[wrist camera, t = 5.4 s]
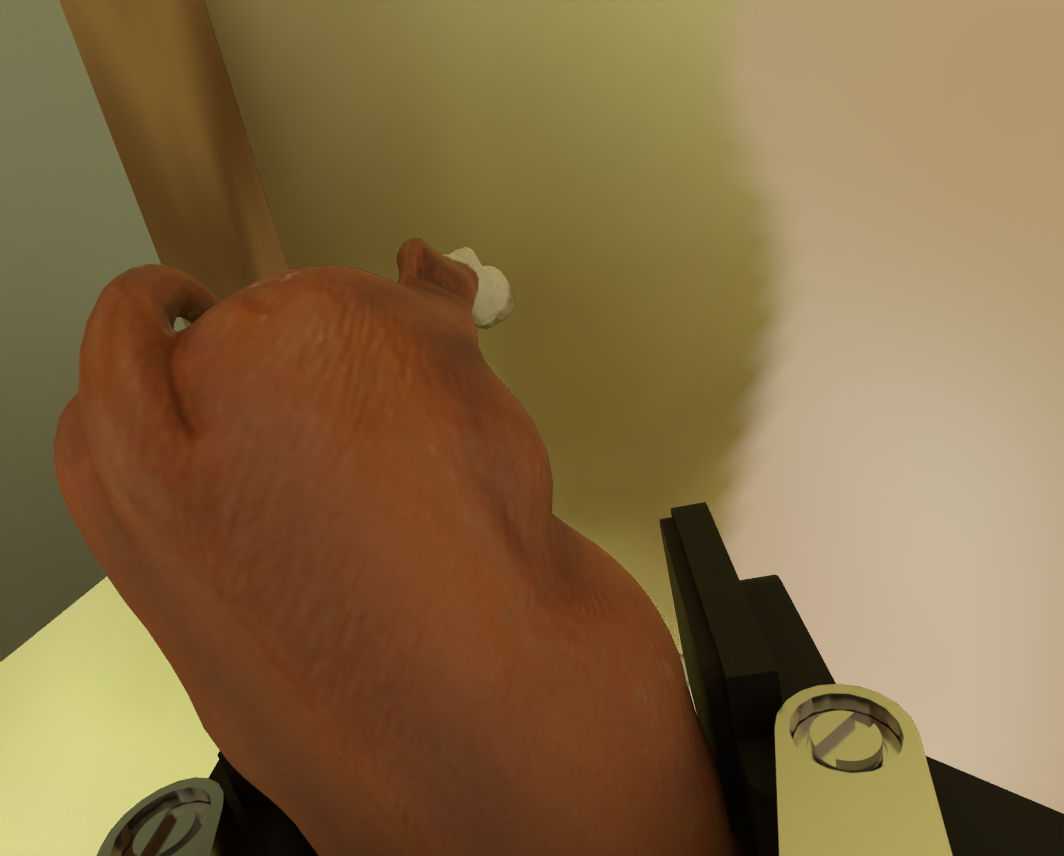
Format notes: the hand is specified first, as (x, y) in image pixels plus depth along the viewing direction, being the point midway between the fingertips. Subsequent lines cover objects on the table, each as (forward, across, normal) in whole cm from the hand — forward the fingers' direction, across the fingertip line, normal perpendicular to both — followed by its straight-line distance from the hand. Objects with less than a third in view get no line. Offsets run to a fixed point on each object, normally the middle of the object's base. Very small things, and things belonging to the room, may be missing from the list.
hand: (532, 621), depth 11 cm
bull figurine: (+2, 0, 0) cm, 2 cm away
